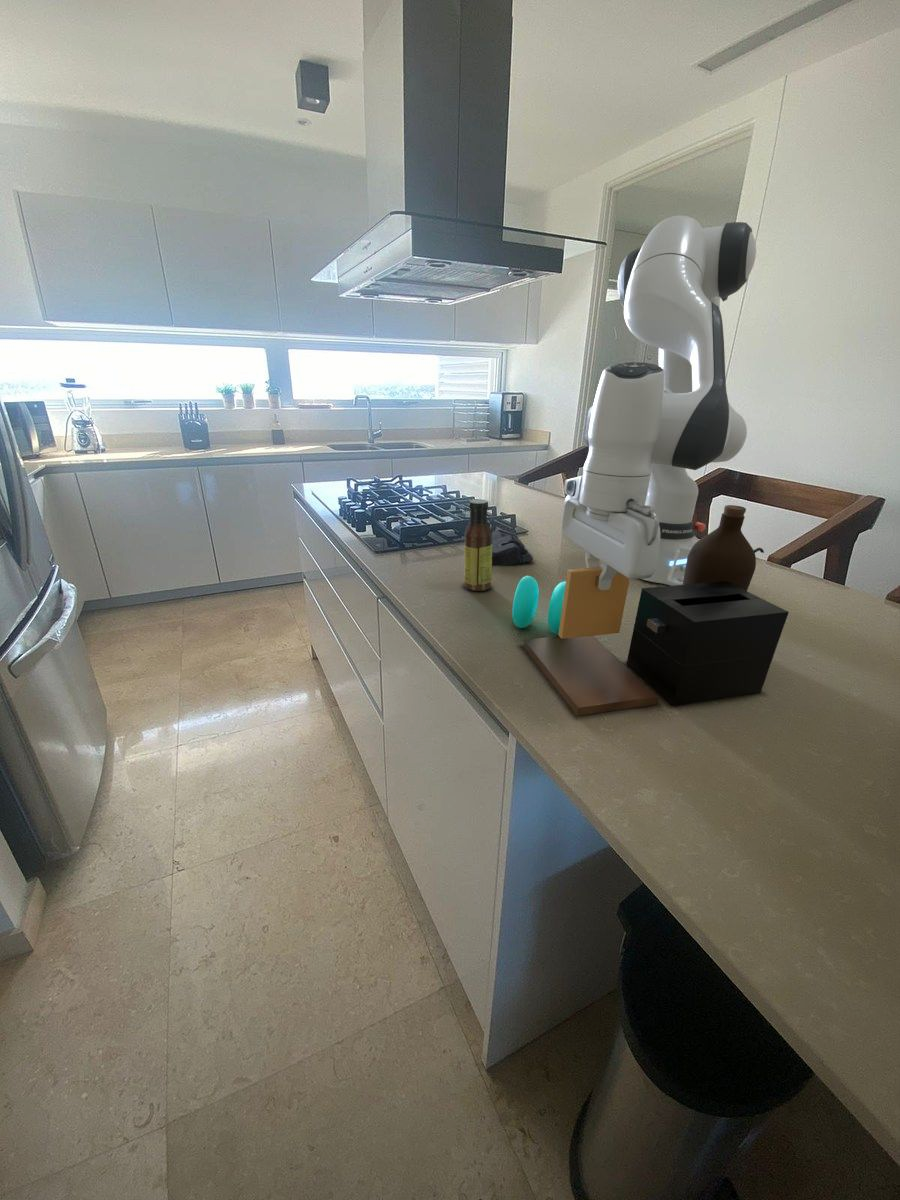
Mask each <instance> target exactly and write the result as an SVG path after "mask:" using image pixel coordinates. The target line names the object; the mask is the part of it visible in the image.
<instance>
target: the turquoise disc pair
mask: <svg viewBox="0 0 900 1200" xmlns="http://www.w3.org/2000/svg"><path fill="white" fill-rule="evenodd" d="M565 585H566V581H561V582H559V583H558V584H557V585H556V586H555V588H554V589H553V590H552V593H551V597H550V601H549V606H548V613H547V625H548V628H549V630H550V631H551V632H552V633H553V634H554V635H558V636H559V628H560V621H561V614H562V607H563V599H564V592H565ZM539 595H540V590H539V584H538V581H537V580H536V578H535V577H533V576H532V575H525V576H523V577H521V578H520V579H519V581H518V583H517V586H516V589H515V591H514V597H513V602H512V612H511V613H512V615H511V616H512V621H513V624H514V625H515V626H516V627H517V628H520V629H524V628H527V627H528V626H529V625H531V623H532V622H533V620H534V618H535V615H536V613H537V609H538V604H539V598H540V597H539Z"/></svg>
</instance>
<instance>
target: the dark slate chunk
mask: <svg viewBox="0 0 900 1200" xmlns="http://www.w3.org/2000/svg"><path fill="white" fill-rule="evenodd" d="M533 561H534V557H533V555H532V554H531V553H530V552H529V551H528V549H526V546H525V545H524V543H523V542H522V540H521V539H520V538H519V536H518V535H517V534H516V533H515V532H513V531H506V530H503V529H497V530H492V566H493V565H499V566H516V565H524V564H525V563H526V564H527V563H532V562H533Z"/></svg>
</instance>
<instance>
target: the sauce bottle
mask: <svg viewBox="0 0 900 1200" xmlns="http://www.w3.org/2000/svg"><path fill="white" fill-rule="evenodd" d="M468 507H469V522H468V524H467V525H466V527H465V529H464V543H463V547H464V548H463V566H464V567H463V577H464V578H463V581H464V586H465V588H466V589H467V590H469V591H475V592H484V591H488V590H490V588H491V586H492V578H493V577H492V576H493V575H492V573H493V569H492V568H493V565H492V531H493V530H492V528H491V526H490V524H489V522H488V510H489V509H488V508H489V501H488V499H487V500H486V499H481V498H476V499H471V500H469V501H468Z"/></svg>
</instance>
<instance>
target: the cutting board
mask: <svg viewBox="0 0 900 1200" xmlns="http://www.w3.org/2000/svg"><path fill="white" fill-rule="evenodd" d="M523 649H524V650H525V651H526V652H527V654H528V655H529V657H530V658H531V659H532V660H533V662H535V664H536V665H537V667H539V669H540V670H541V672H542V673H543V675H545V677H546V678H547V680H548V681H549V682H550V683H551V685H552V686H553V687H554V689H555V690H556V691H557V692H558V693H559V695H560V696H561V698H562V699H563V700H564V701H565V702H566V704H567V705H568V707H570V709H571V711H572V712H574V714H575V715H576V717H579V716H580V717H581V716H586V715H593V714H600V713H606V712H613V711H619V710H620V711H621V710H625V709H626V710H628V709H633V708H640V707H646V706H653V705H657V704H658V703H657V702H658V698H659V694H658V693H656V692H655V691H654V690H652V688H651V687H650V686H649V685H648V684H647V683H646V682H645V681H644V680H643V681H642V679H640V677H639V676H638V675H637V674H636V673H635V672H634V671H633V670H632V669H631V668H629V667H627V666H626V664H624V662H622V661H621V660H620V659H619V658H618V657H616V655H615V654H614V653H612V651H610V650H609V649H608V647H606V646H605V644H603V643H601V641H599V640H598V639H597V638H596V637H595V635H594V636H585V637H575V638H565V639H562V638H561V637H560V636H559V635H558V636H548V637H539V638H538V637H537V638H529V639H524V640H523Z"/></svg>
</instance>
